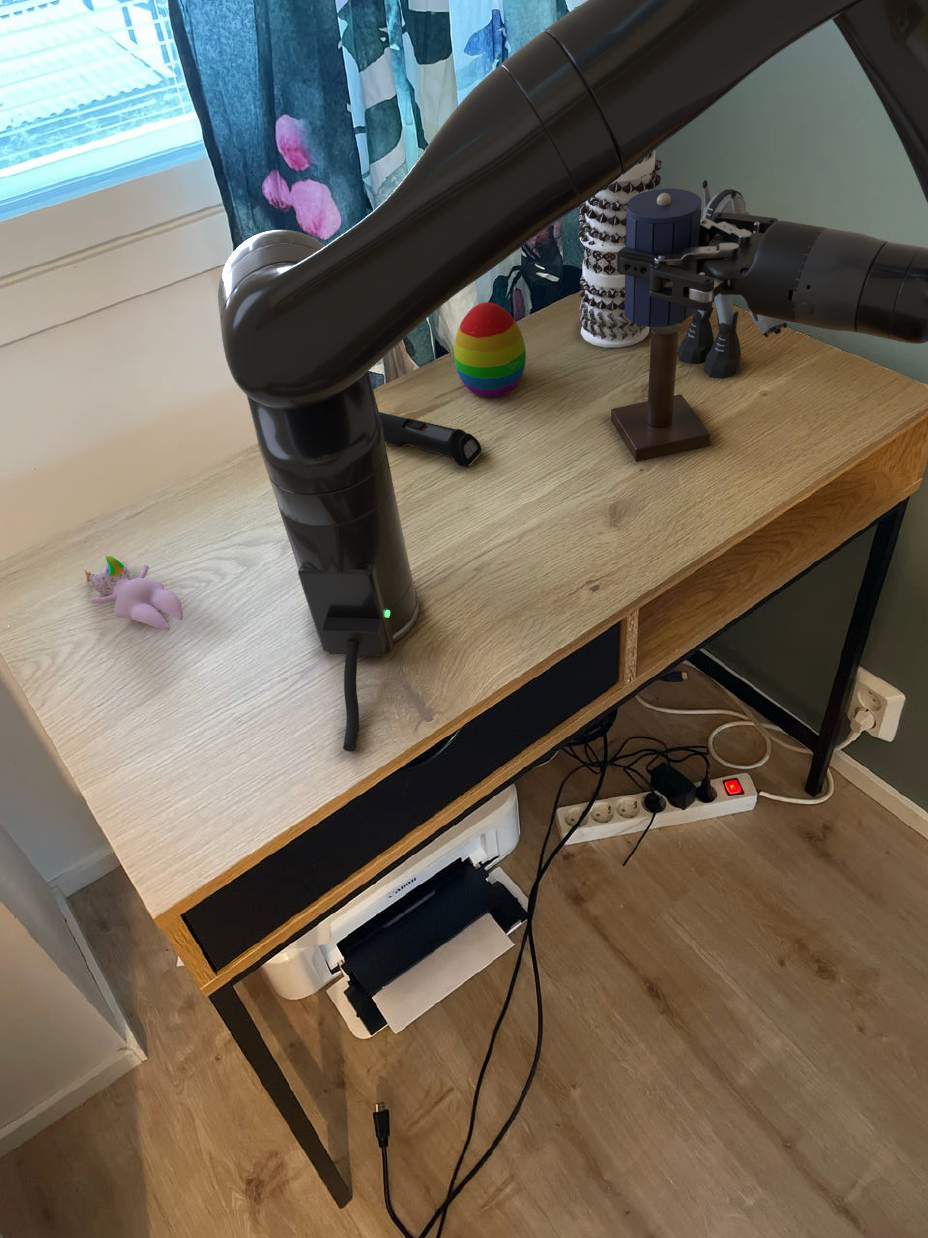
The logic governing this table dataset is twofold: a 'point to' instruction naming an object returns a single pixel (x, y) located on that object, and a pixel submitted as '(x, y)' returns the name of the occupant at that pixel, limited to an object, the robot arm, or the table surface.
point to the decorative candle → (610, 258)
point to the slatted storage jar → (660, 249)
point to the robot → (721, 311)
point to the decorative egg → (489, 351)
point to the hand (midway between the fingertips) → (638, 243)
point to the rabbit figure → (135, 595)
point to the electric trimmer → (431, 438)
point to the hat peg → (660, 407)
